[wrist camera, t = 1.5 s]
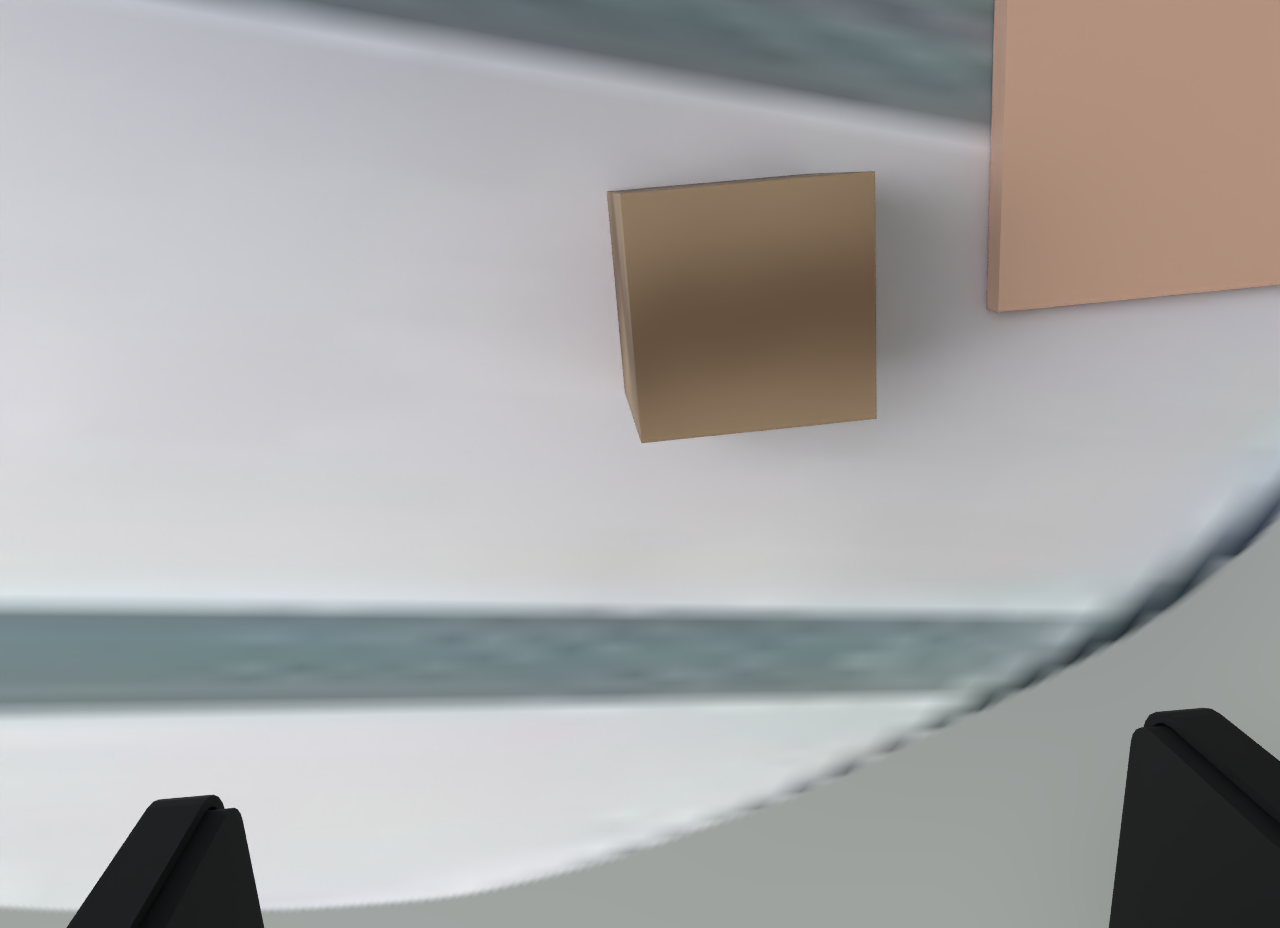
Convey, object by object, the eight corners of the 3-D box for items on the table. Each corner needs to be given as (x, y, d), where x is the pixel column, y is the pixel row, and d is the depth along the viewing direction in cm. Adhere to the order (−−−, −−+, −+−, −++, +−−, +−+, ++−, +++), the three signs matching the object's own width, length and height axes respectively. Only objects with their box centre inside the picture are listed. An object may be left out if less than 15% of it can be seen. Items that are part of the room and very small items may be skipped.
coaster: (996, -88, 26) (1010, -97, 25) (1372, -116, 26) (1396, -125, 26) (986, 309, 29) (998, 312, 28) (1321, 276, 30) (1341, 278, 29)
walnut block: (606, 191, 27) (620, 193, 21) (808, 173, 27) (874, 171, 22) (624, 391, 29) (641, 442, 23) (813, 372, 29) (876, 418, 24)
